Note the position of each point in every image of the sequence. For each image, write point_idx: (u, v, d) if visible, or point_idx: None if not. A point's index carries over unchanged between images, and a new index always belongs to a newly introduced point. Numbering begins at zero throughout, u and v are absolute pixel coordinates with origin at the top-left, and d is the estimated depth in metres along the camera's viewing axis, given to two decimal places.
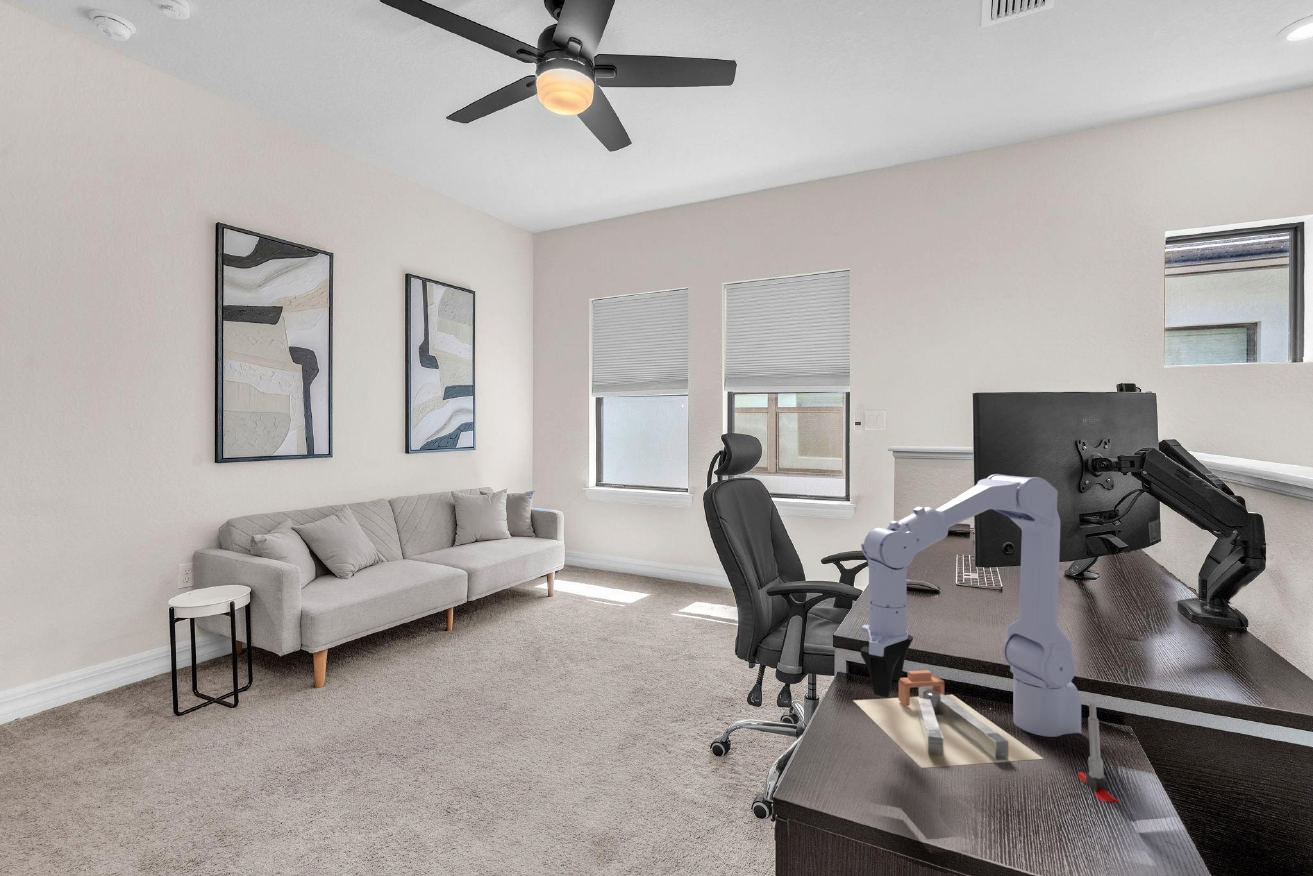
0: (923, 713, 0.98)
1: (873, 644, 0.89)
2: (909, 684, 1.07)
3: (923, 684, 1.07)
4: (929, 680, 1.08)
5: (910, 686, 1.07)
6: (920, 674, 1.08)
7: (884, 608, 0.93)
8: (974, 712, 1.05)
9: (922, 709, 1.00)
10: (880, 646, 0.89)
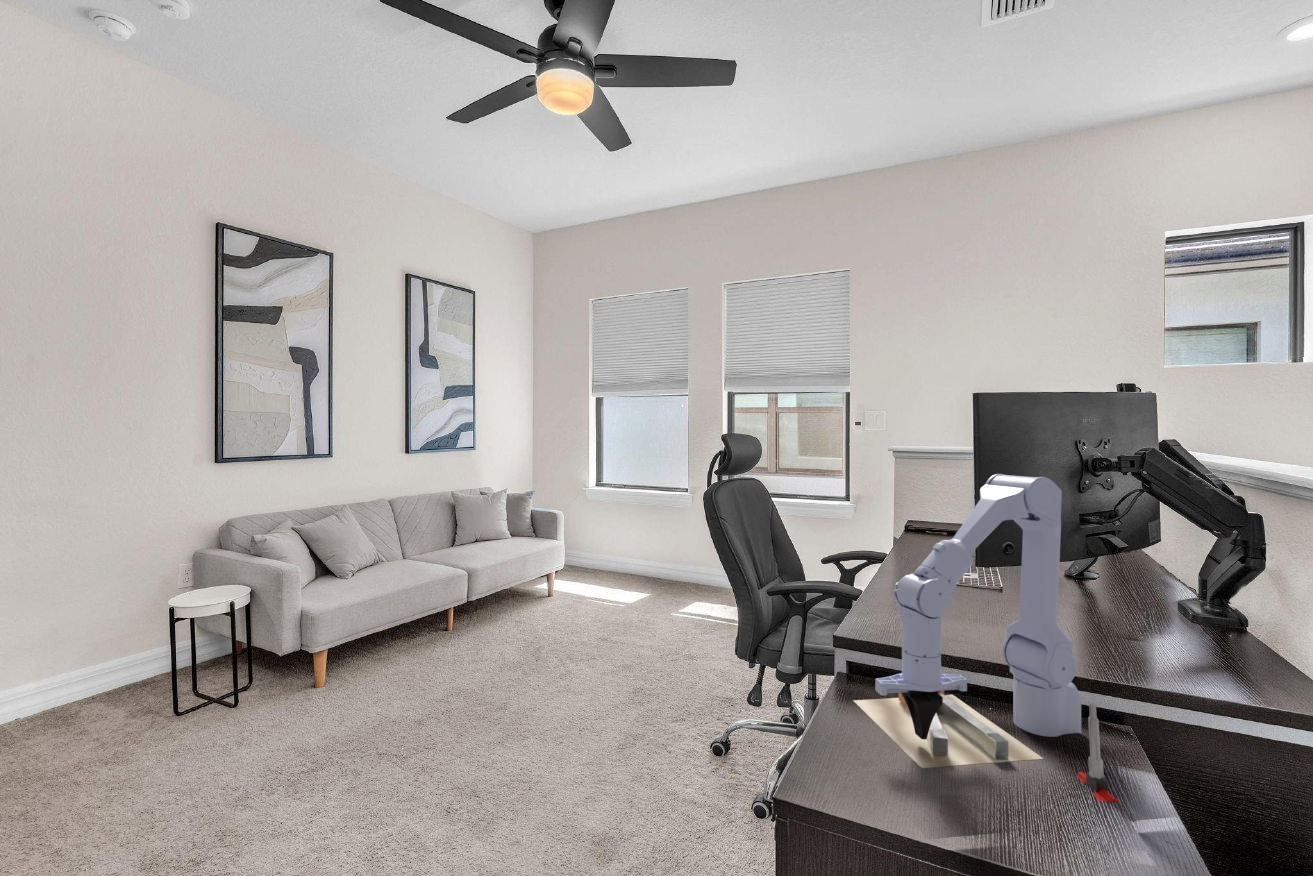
0: None
1: (877, 681, 0.93)
2: None
3: None
4: None
5: None
6: None
7: (906, 653, 0.93)
8: (974, 712, 1.05)
9: None
10: (880, 685, 0.92)
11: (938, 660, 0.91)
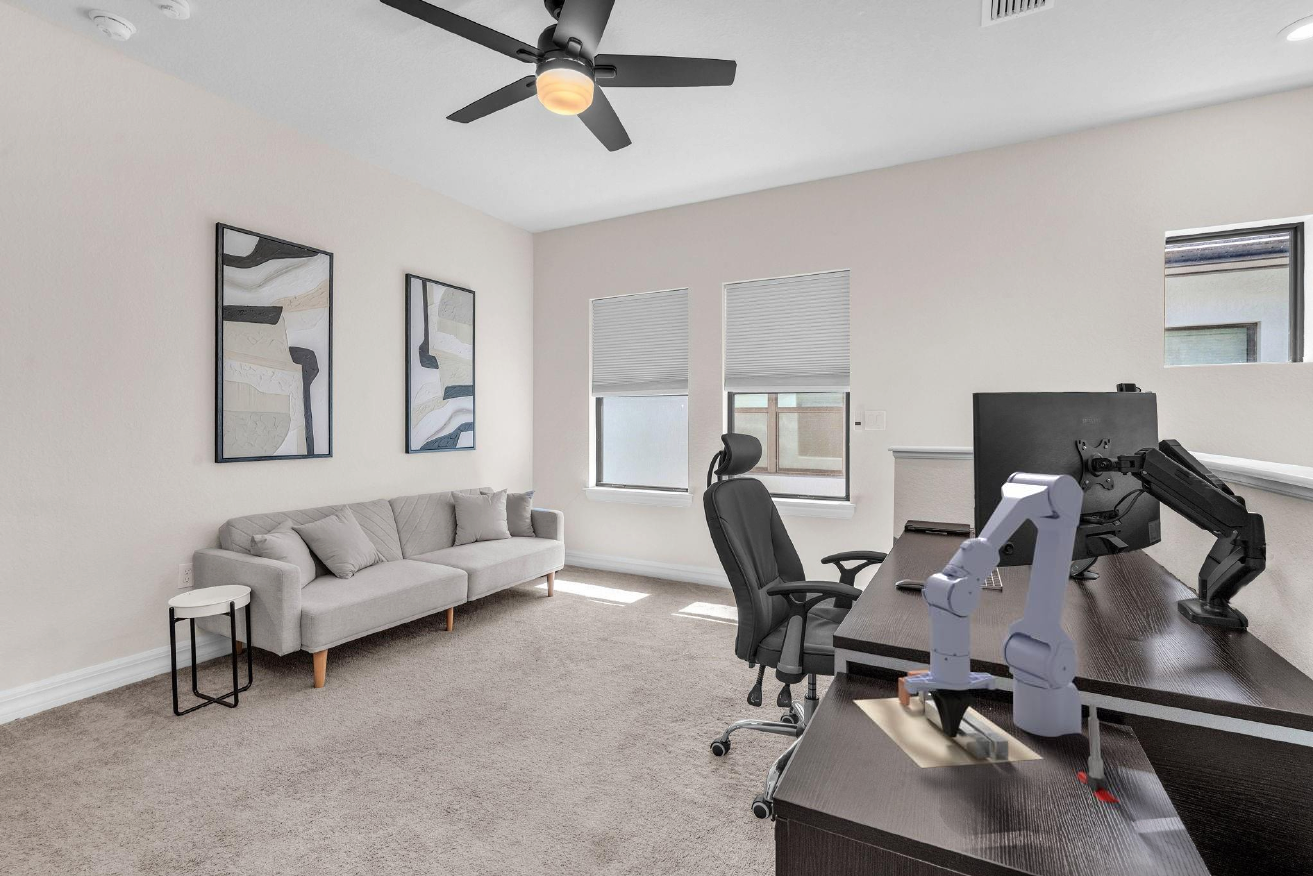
0: None
1: (906, 680, 0.94)
2: None
3: None
4: None
5: None
6: None
7: (935, 652, 0.94)
8: (974, 712, 1.05)
9: None
10: (909, 684, 0.93)
11: (967, 658, 0.92)
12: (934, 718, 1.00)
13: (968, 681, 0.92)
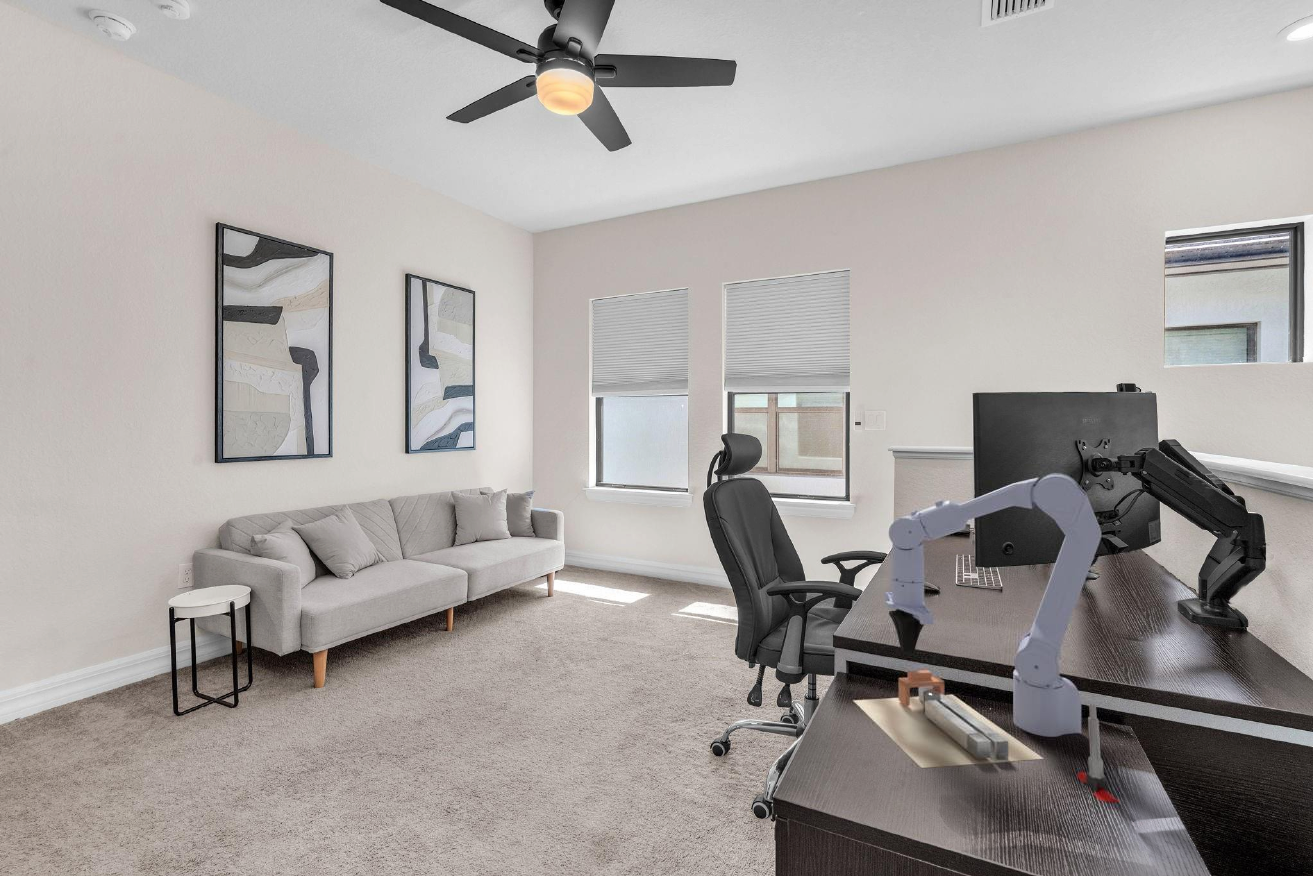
0: (947, 717, 0.97)
1: (925, 615, 1.05)
2: (909, 684, 1.07)
3: (923, 684, 1.07)
4: (929, 680, 1.08)
5: (910, 686, 1.07)
6: (920, 674, 1.08)
7: (916, 584, 1.10)
8: (974, 712, 1.05)
9: (941, 712, 0.98)
10: (931, 616, 1.05)
11: None
12: (934, 718, 1.00)
13: None
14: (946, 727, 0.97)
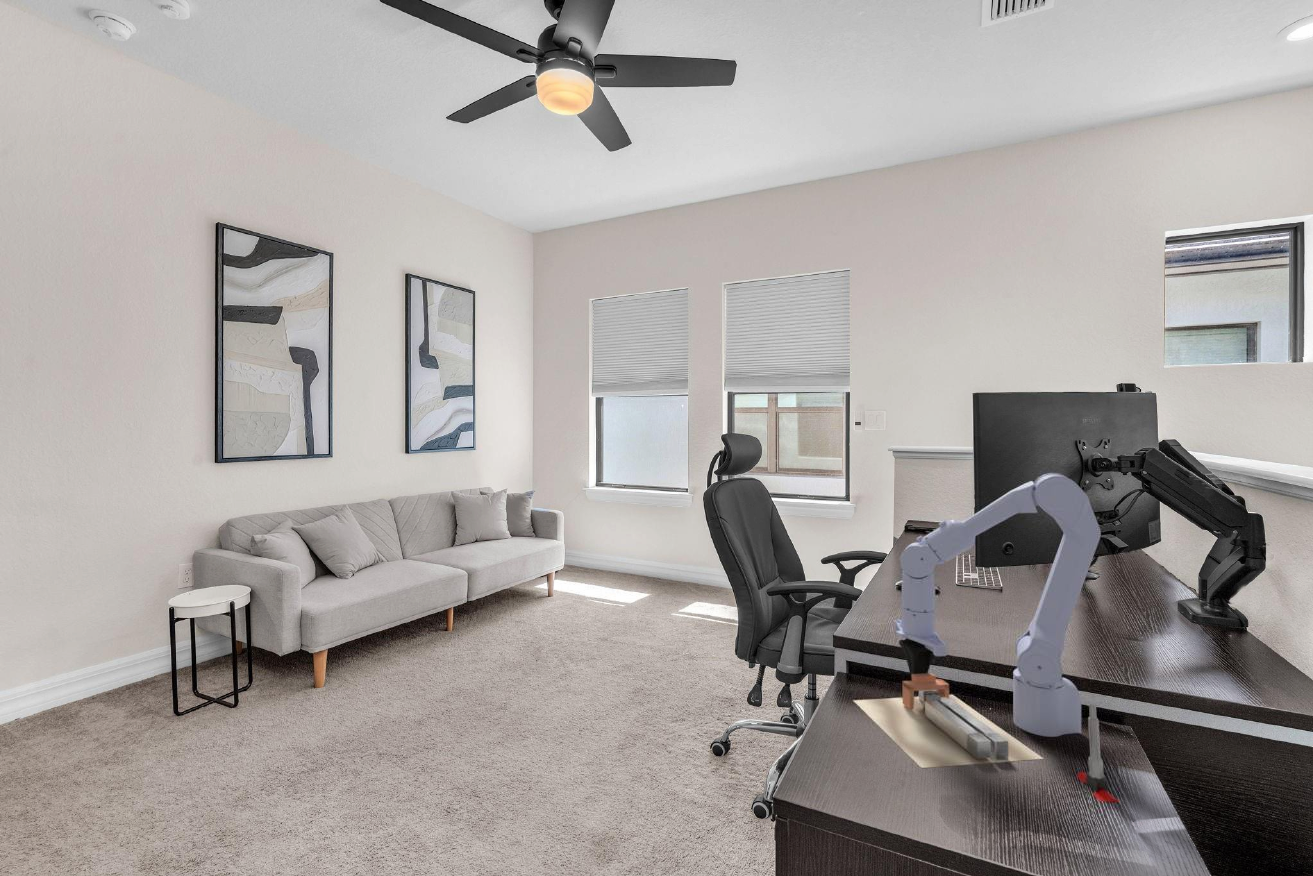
0: (947, 717, 0.97)
1: (939, 647, 1.02)
2: (913, 687, 1.06)
3: (927, 687, 1.06)
4: (934, 683, 1.07)
5: (914, 689, 1.06)
6: (924, 677, 1.07)
7: (927, 613, 1.07)
8: (974, 712, 1.05)
9: (941, 712, 0.98)
10: (945, 647, 1.02)
11: None
12: (934, 718, 1.00)
13: None
14: (946, 727, 0.97)
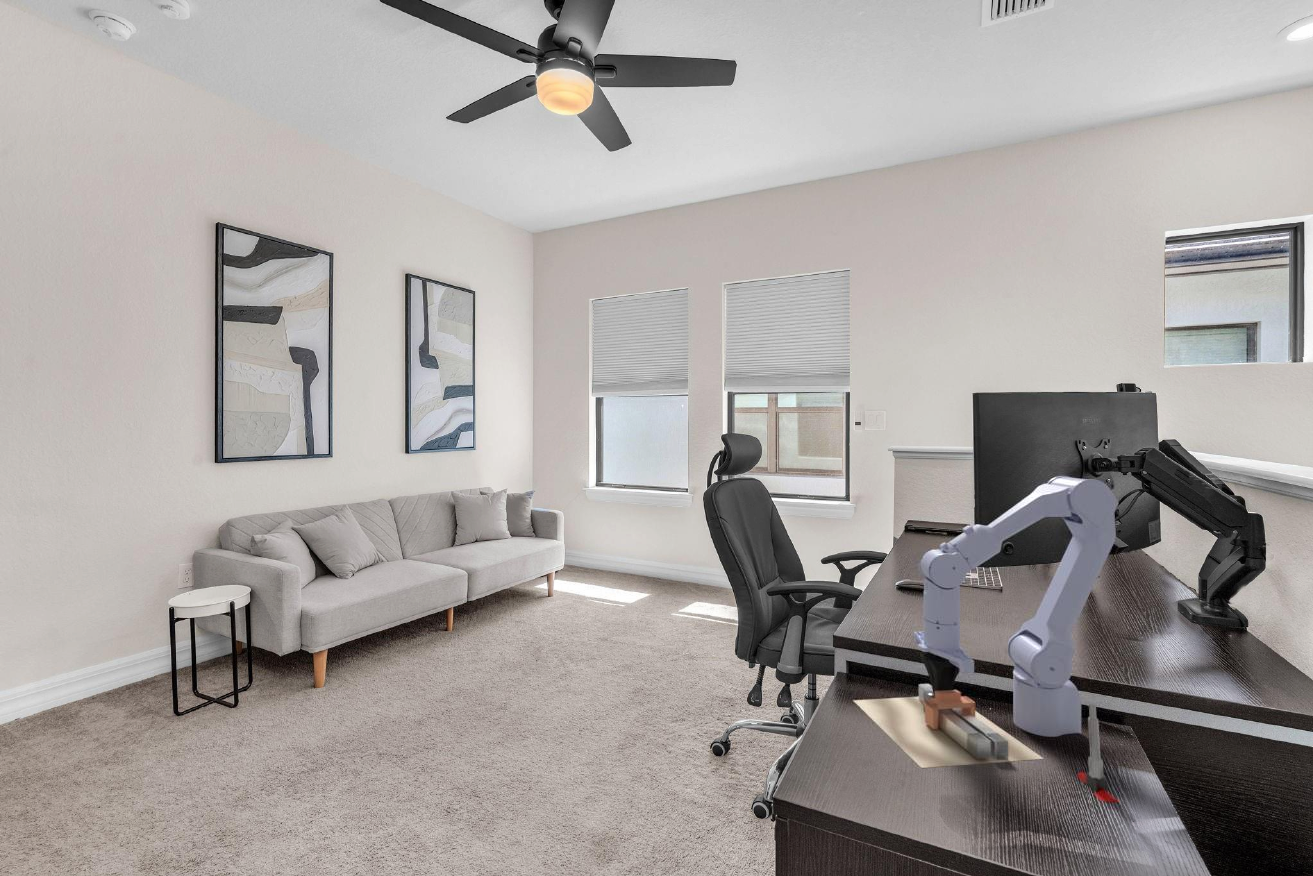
0: (947, 717, 0.97)
1: (966, 662, 0.95)
2: (937, 705, 0.98)
3: (952, 705, 0.99)
4: (959, 701, 1.00)
5: (938, 708, 0.98)
6: (948, 694, 1.00)
7: (952, 626, 1.00)
8: None
9: (941, 712, 0.98)
10: (972, 663, 0.95)
11: None
12: None
13: None
14: (946, 727, 0.97)
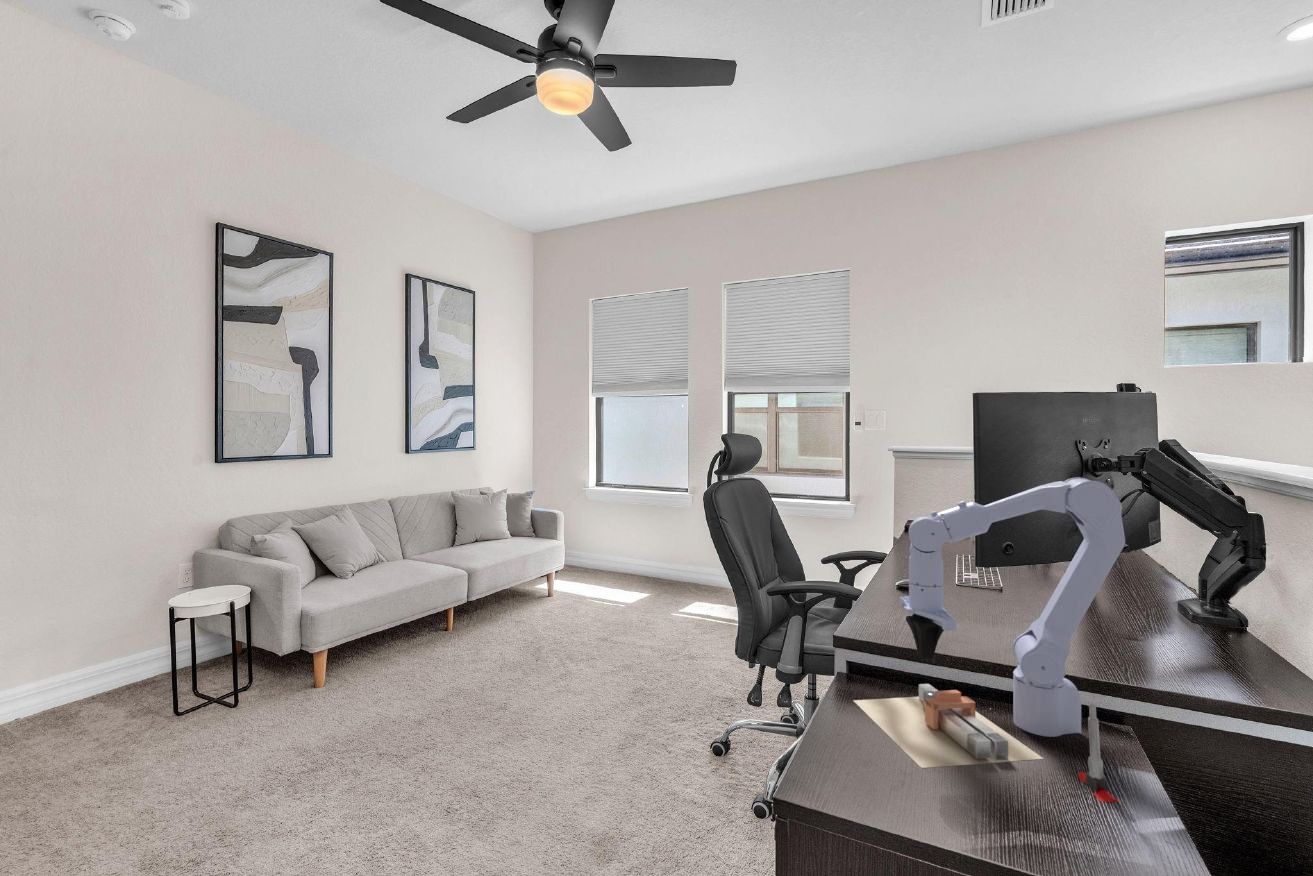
0: (947, 717, 0.97)
1: (949, 621, 1.00)
2: (937, 705, 0.98)
3: (952, 706, 0.99)
4: (959, 701, 1.00)
5: (938, 708, 0.98)
6: (948, 694, 1.00)
7: (935, 588, 1.05)
8: None
9: (941, 712, 0.98)
10: (954, 621, 1.00)
11: None
12: None
13: None
14: (946, 727, 0.97)
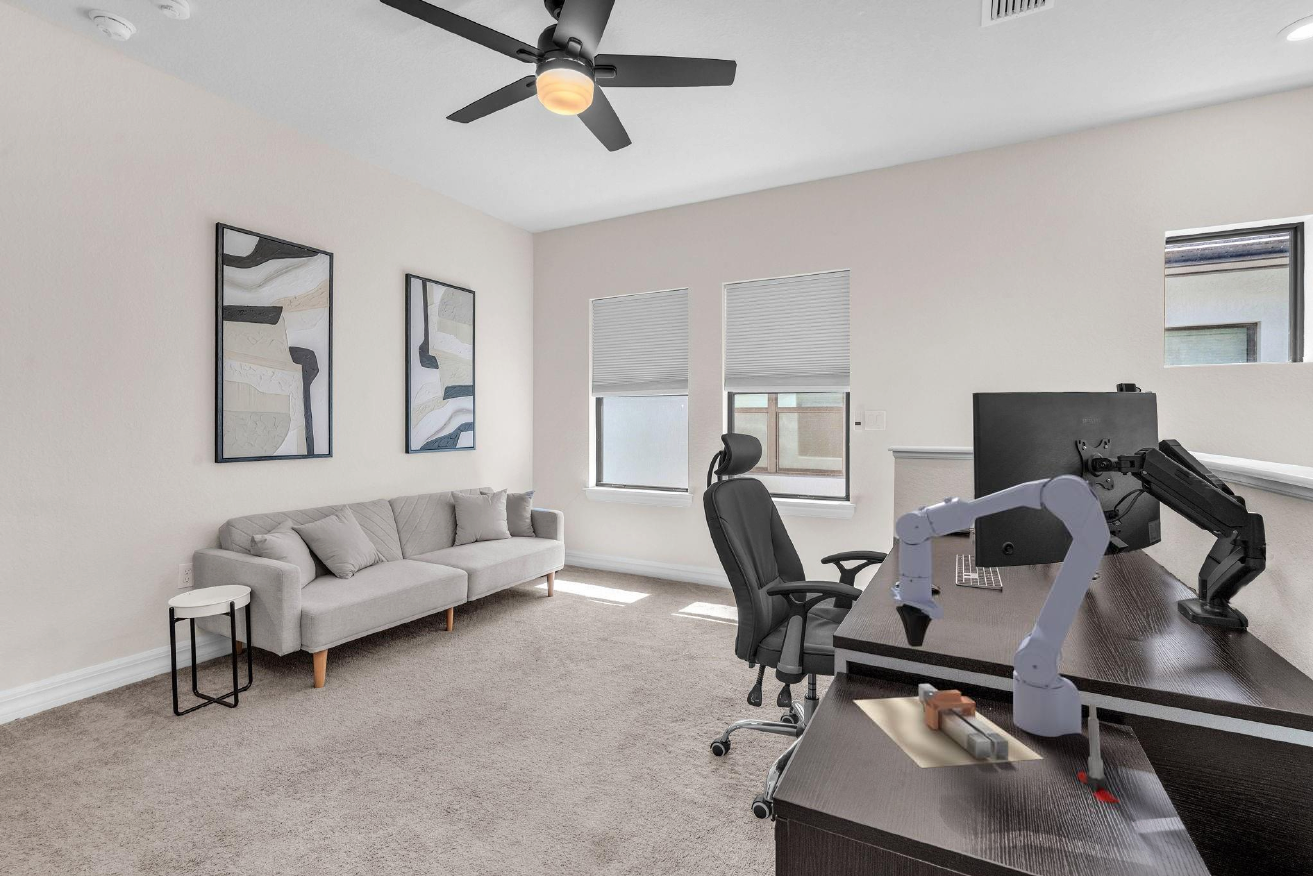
0: (947, 717, 0.97)
1: (936, 610, 1.05)
2: (937, 705, 0.98)
3: (952, 706, 0.99)
4: (959, 701, 1.00)
5: (938, 708, 0.98)
6: (948, 694, 1.00)
7: (924, 579, 1.10)
8: None
9: (941, 712, 0.98)
10: (941, 610, 1.05)
11: None
12: None
13: None
14: (946, 727, 0.97)
